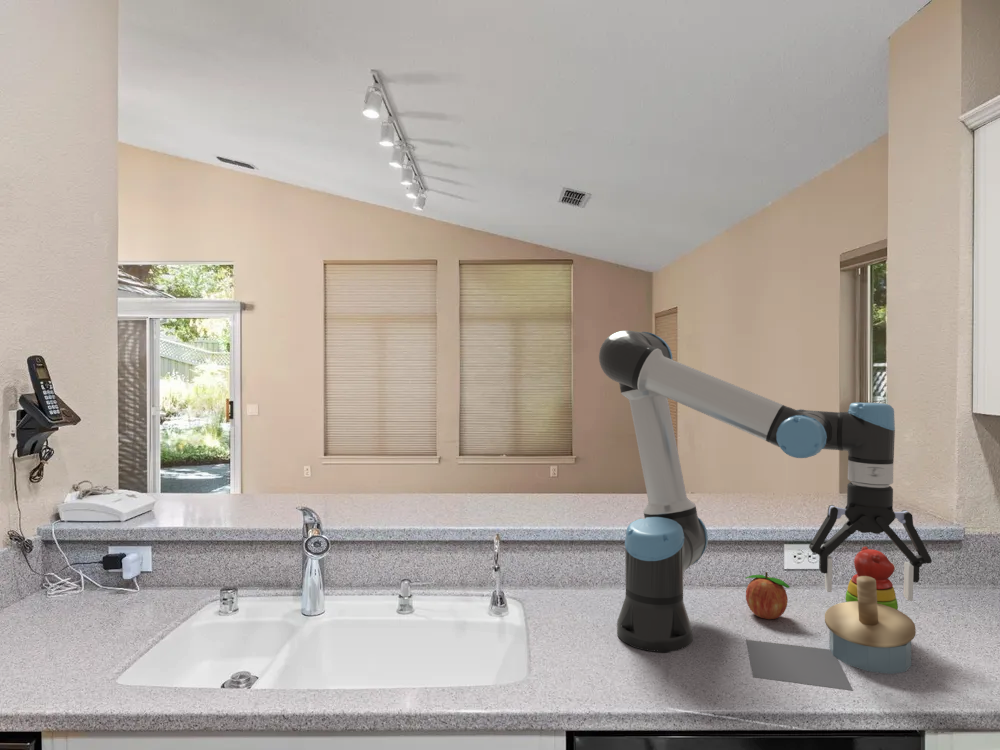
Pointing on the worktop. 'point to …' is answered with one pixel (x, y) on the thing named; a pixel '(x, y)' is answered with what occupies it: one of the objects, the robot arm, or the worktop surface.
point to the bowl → (871, 655)
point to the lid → (869, 619)
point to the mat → (796, 664)
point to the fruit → (766, 596)
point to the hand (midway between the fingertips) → (867, 594)
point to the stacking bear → (874, 576)
